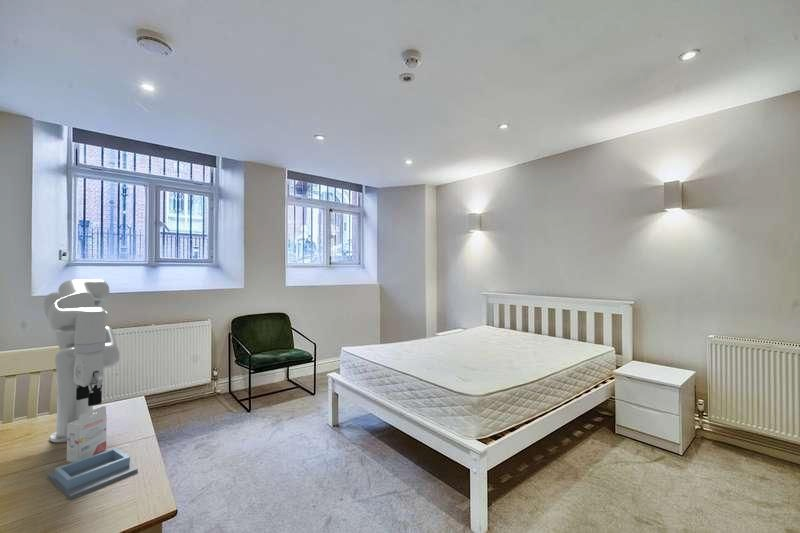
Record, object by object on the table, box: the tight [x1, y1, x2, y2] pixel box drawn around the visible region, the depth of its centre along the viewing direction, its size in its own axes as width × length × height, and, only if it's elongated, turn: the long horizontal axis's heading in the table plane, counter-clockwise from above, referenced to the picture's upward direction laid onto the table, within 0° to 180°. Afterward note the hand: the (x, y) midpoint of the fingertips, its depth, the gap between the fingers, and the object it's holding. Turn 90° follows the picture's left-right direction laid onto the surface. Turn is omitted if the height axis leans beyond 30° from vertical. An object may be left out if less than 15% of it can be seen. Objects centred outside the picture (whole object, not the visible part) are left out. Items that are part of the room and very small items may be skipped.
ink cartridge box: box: [66, 405, 108, 463], centre depth 111 cm, size 9×5×15 cm, turn 168°
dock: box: [46, 447, 139, 501], centre depth 101 cm, size 18×15×4 cm
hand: (88, 401), depth 111 cm, fingers open, 9 cm apart
